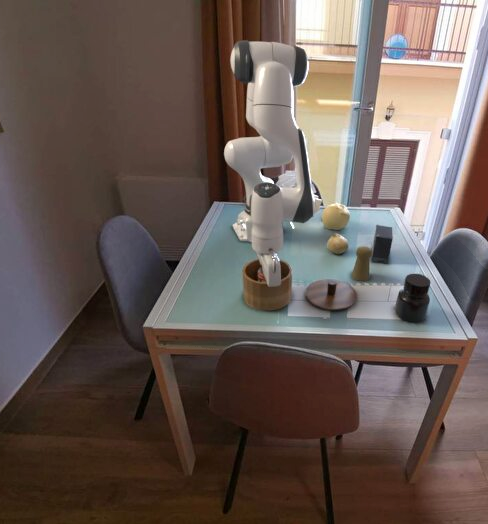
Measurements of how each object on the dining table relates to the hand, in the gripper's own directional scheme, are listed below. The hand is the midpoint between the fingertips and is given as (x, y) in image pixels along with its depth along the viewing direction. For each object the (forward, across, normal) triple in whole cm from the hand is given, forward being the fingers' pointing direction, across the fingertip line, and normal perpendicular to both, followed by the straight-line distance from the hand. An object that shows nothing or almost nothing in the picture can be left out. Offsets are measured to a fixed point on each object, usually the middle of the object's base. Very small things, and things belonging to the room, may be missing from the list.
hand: (268, 282), depth 108 cm
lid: (+5, -4, -19) cm, 20 cm away
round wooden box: (+5, 0, 0) cm, 5 cm away
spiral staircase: (+5, +63, -26) cm, 68 cm away
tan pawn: (+5, +4, -33) cm, 34 cm away
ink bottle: (+5, -18, -39) cm, 43 cm away
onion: (+5, +23, -31) cm, 39 cm away
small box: (+5, +16, -46) cm, 49 cm away
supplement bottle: (+5, 0, 0) cm, 5 cm away
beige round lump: (+5, +44, -38) cm, 58 cm away
